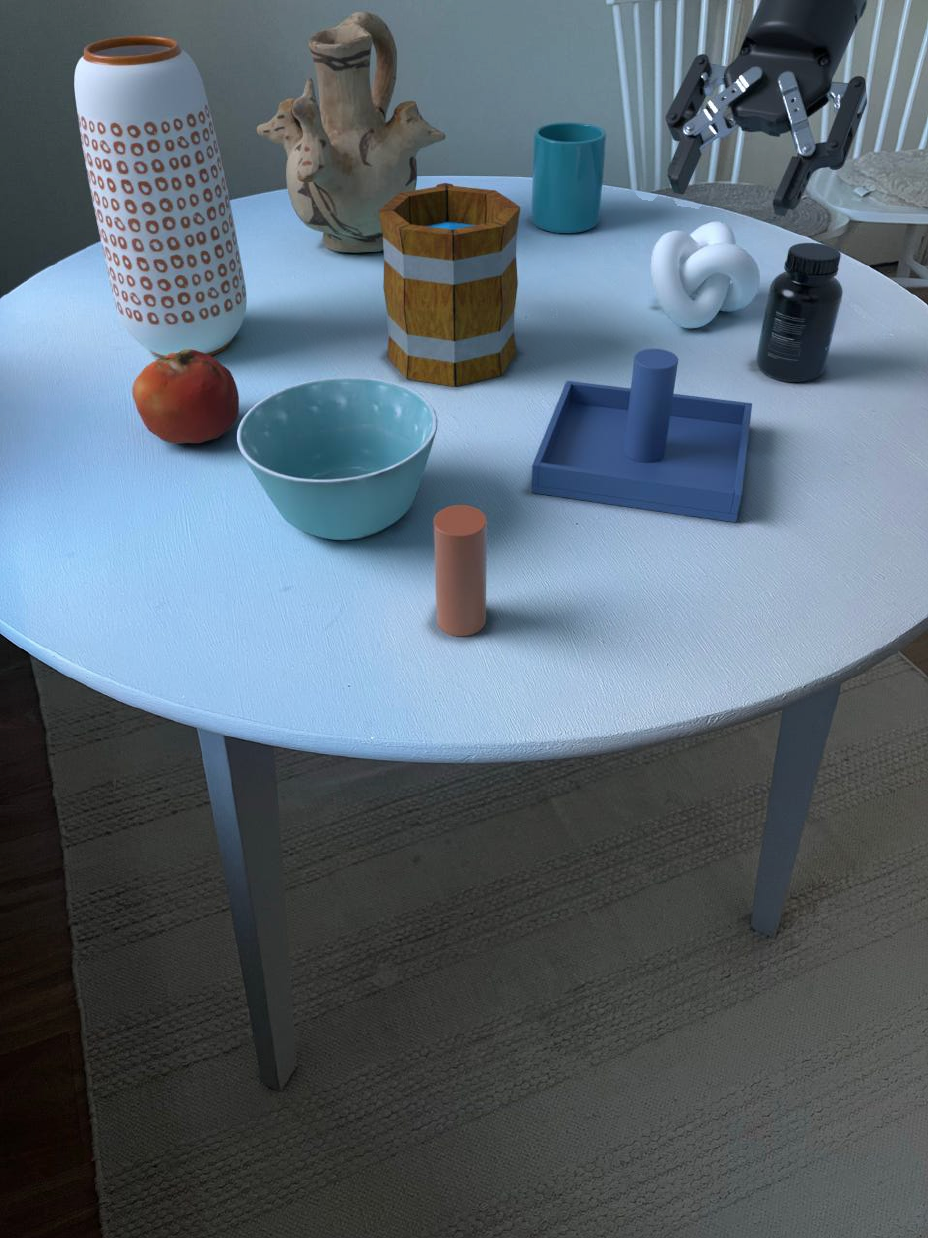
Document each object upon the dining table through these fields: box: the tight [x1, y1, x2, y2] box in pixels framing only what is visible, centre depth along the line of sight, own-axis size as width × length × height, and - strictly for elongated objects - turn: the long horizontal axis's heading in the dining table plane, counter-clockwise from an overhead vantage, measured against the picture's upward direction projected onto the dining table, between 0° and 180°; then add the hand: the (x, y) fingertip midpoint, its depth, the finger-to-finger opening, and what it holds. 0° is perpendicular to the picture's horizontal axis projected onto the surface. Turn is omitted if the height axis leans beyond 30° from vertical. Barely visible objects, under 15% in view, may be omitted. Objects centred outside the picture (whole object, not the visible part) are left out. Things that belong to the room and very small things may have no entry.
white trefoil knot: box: [650, 220, 761, 329], centre depth 109 cm, size 11×12×9 cm
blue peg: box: [624, 348, 679, 462], centre depth 86 cm, size 4×4×9 cm
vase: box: [73, 35, 248, 359], centre depth 98 cm, size 13×13×28 cm
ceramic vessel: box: [256, 11, 447, 253], centre depth 120 cm, size 18×19×25 cm
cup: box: [530, 121, 607, 234], centre depth 131 cm, size 9×12×11 cm
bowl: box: [236, 376, 438, 541], centre depth 81 cm, size 16×16×8 cm
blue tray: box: [530, 380, 753, 523], centre depth 89 cm, size 17×15×3 cm
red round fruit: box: [131, 350, 240, 445], centre depth 91 cm, size 9×9×8 cm
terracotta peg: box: [433, 504, 488, 637], centre depth 70 cm, size 4×4×9 cm
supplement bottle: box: [755, 242, 844, 383], centre depth 98 cm, size 7×7×12 cm
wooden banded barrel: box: [378, 182, 521, 388], centre depth 102 cm, size 20×14×15 cm
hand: (726, 199), depth 78 cm, fingers open, 8 cm apart
